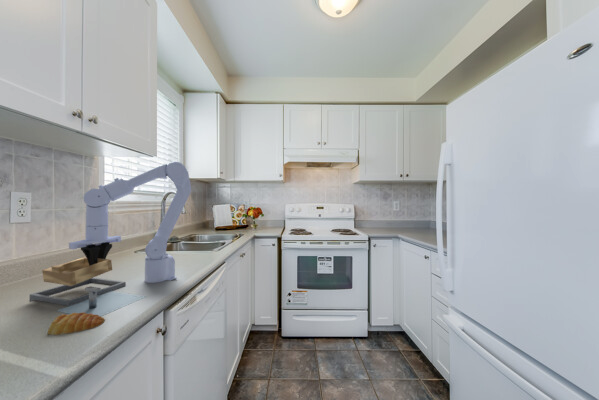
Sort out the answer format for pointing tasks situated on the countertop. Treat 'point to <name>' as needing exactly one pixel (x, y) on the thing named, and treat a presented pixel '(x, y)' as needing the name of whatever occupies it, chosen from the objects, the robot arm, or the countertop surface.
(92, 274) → the wooden frame
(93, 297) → the stake post
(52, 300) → the tray
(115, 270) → the countertop surface
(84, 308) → the stake base
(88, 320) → the pastry
